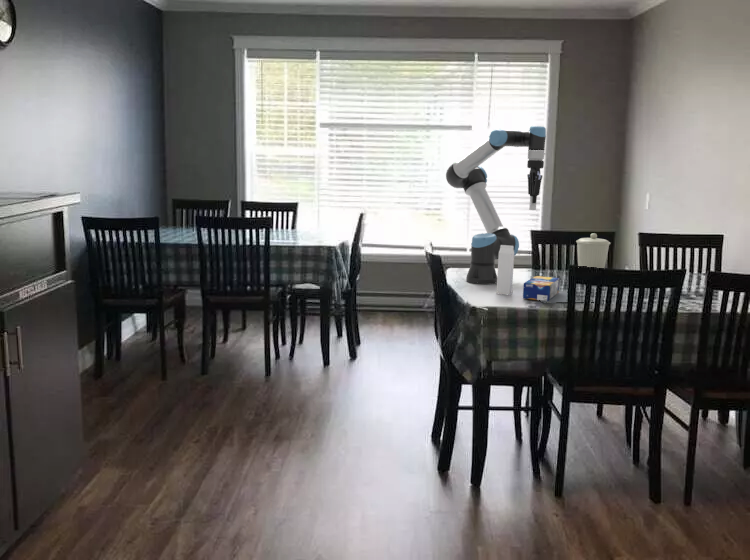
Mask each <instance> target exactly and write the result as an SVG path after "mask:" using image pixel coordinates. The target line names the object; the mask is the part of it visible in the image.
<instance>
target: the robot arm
mask: <svg viewBox="0 0 750 560" xmlns="http://www.w3.org/2000/svg"><path fill="white" fill-rule="evenodd" d="M546 133H547V128H546V126H539V125H535V126H533V125H532V126H530V127H529V130H514V129H513V130H512V129H501V128H499V129H493V130H492V131H491V132H490V134H489V136H488V137H489V138H488V139H487V140H485V141H484V142H482V143H481V144H480V145H478V146H477V147H476V148H475V149H474V150H472V151H470V152H469V153H468V154H466V155H465V156H464V157H463V158H462V159H460V160H455V162H453V163H452V164H451V165H450V166H449V167H448V169H447V170H446V173H445V179H446V181H447V183H448V184H449V186H451V187H453V188H456V189H463V191H464V193H465V194H466V196H469V197H470V199H471V201H472V203H473V205H474V208H475V209H476V212H477V214H478V216H479V218H480V221H481V223H482V225H483V227H484V229H485V231H486V233H485V232H484V233H483V232H482V233H478V234H475V235H473V236H472V238H471V245H470V246H471V248H470V252H471V253H470V267H469V269H468V272H467V273H466V277H465V278H466V280H465V281H466V282H468V283H471V284H478V285H492V284H497V275H498V273H497V271H496V268H495V265H496V264H495V262H496V261H495V260H498V257H499V250H500V245H509V246H514V248H513V249H514V257H516V255H517V254H518V251H519V248H520V242H519V239H518V237H517V236H516V235H514V234H511V233H510V231H509V229H508V228H507V227H504V226H503V224H502V221H501V219H500V217H499V214H498V213H497V210H496V208H495V205H494V204H493V203H492V200H491V197H490V196H489V194H488V191H487V189H486V188H487V183H488V179H487V178H488V174H487V172H486V170H485V169H484V168H483V167H482V166H480V165H481V164H483V163H485V161H487V160H489V159H490V158H492V156H494V155H495V154H496V153H498V152H499V151H500V150H502V149H503V148H505V147H515V148H521V147H523V148H527V149H528V151H527V159H528V160H527V165H526V166H527V167H526V168H528V169H529V174H527V186H528V187H527V189H528V190H527V191H528V192H527V193H528V195H529V210H528V211H537V198H538V196H539V195H540V191H541V184H542V179H543V175H542V174H541V169H544V164H545V161H544V159H545V155H546V153H545V152H546V151H545V150H546V149H545V147H546V137H547V134H546Z"/></svg>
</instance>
